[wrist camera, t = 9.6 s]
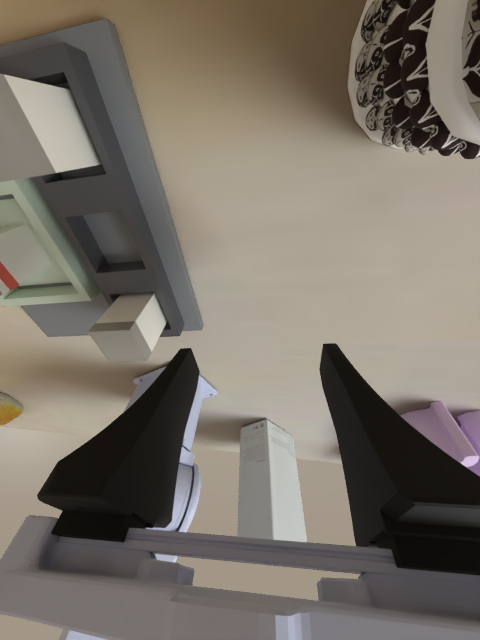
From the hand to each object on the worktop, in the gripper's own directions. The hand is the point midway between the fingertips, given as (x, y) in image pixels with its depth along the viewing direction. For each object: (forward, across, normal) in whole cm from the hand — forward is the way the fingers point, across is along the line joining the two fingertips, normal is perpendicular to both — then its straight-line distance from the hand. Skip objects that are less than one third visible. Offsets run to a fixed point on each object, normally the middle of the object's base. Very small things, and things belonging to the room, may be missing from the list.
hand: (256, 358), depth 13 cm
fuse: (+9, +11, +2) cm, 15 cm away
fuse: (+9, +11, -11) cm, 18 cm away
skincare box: (+10, 0, +31) cm, 33 cm away
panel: (+10, +16, -5) cm, 20 cm away
